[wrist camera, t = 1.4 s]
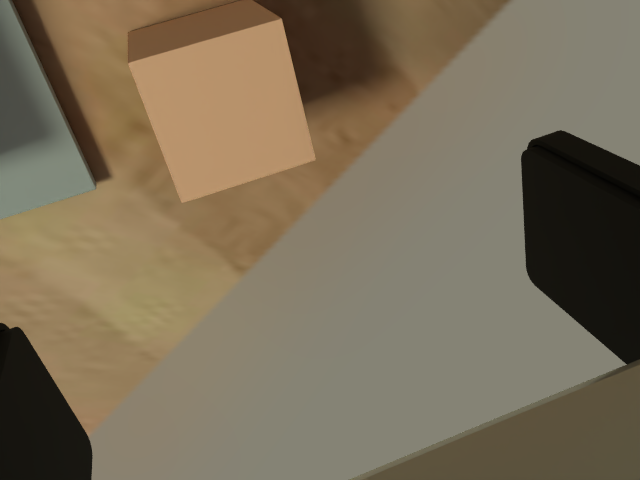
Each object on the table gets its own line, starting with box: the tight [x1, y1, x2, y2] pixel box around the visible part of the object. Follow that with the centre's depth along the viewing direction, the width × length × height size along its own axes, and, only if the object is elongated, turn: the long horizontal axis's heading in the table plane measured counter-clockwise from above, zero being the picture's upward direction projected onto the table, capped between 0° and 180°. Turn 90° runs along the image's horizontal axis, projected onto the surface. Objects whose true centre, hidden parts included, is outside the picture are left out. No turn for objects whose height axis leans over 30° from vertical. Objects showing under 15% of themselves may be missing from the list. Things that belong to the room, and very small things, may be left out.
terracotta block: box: [128, 0, 316, 203], centre depth 23 cm, size 5×5×6 cm
